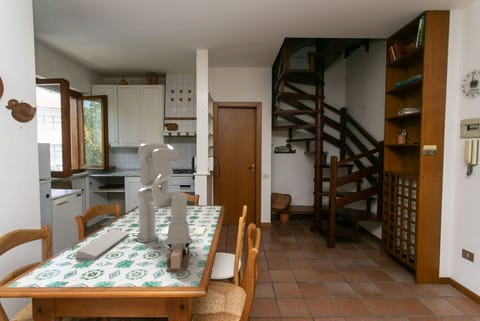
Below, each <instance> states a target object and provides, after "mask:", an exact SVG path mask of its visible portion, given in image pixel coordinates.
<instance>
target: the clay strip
mask: <svg viewBox="0 0 480 321" xmlns="http://www.w3.org/2000/svg"><path fill="white" fill-rule="evenodd" d="M170 255H171V269H178V268H180V266H181V263H182V260H183V244H175V246H174V249H173V251H172V254H171V253H170Z"/></svg>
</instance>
